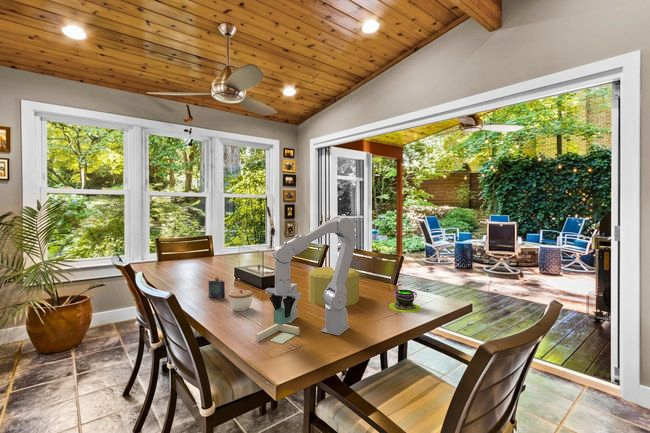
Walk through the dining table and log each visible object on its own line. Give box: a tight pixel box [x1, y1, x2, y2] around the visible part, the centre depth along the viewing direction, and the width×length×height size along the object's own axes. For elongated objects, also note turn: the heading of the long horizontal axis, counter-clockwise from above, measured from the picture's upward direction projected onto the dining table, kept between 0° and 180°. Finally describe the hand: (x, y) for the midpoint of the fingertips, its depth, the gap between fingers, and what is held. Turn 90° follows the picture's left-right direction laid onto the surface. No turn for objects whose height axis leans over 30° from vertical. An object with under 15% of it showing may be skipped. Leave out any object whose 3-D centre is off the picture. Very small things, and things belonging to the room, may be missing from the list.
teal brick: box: [273, 306, 291, 325], centre depth 117 cm, size 6×4×4 cm, turn 152°
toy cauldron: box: [388, 283, 422, 313], centre depth 154 cm, size 15×15×11 cm
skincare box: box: [281, 283, 299, 324], centre depth 137 cm, size 8×6×15 cm
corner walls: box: [255, 323, 300, 343], centre depth 119 cm, size 13×10×2 cm
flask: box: [207, 276, 226, 299], centre depth 170 cm, size 9×3×11 cm, turn 76°
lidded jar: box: [228, 288, 254, 312], centre depth 151 cm, size 11×11×9 cm
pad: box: [269, 332, 296, 345], centre depth 118 cm, size 8×6×1 cm
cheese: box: [308, 266, 360, 307], centre depth 167 cm, size 26×26×15 cm
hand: (282, 315), depth 118 cm, fingers closed on teal brick, 3 cm apart
